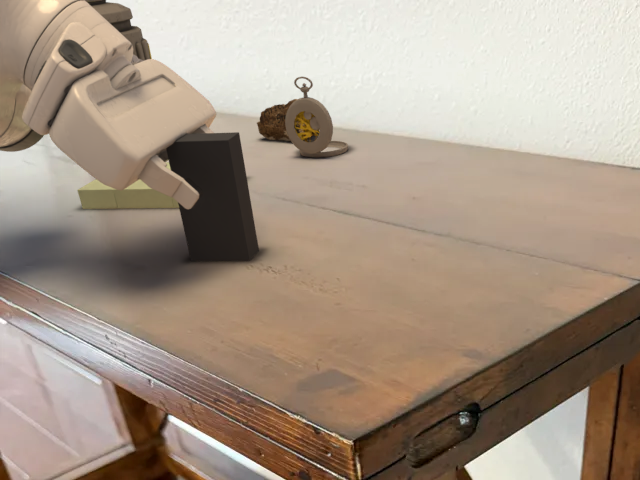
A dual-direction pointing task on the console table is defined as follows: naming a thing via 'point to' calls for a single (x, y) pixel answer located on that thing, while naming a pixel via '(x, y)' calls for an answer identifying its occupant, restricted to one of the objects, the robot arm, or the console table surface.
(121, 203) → the seat pad
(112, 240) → the console table surface
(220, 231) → the back pad
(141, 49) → the grey power cell canister
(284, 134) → the rock sample
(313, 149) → the pocket watch
